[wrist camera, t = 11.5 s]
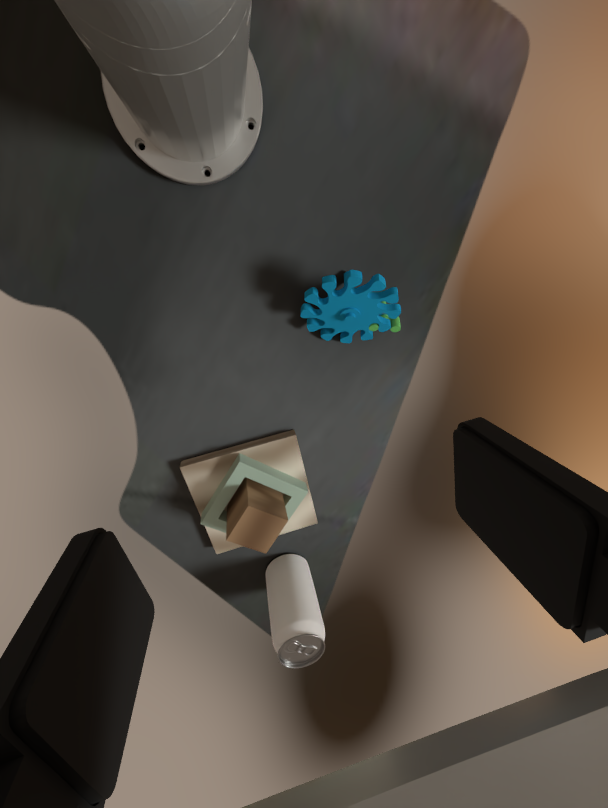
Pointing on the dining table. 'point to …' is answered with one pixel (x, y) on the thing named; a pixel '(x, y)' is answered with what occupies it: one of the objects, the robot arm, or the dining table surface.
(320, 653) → the can
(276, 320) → the dining table surface
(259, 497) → the block
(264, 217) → the dining table surface
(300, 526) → the board
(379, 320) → the gear
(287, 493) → the pocket
